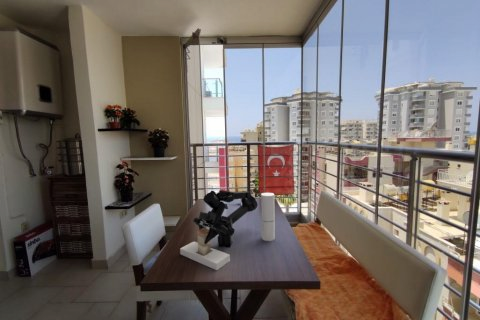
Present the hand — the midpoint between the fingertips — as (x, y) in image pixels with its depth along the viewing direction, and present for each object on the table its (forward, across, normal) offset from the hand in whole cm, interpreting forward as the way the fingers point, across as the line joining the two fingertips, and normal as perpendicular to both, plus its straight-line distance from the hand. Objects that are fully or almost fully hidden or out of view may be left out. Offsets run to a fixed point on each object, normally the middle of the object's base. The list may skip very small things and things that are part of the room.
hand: (201, 242), depth 108 cm
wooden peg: (+4, 0, +6) cm, 7 cm away
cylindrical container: (-19, +15, +31) cm, 40 cm away
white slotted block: (+5, 0, +7) cm, 8 cm away
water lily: (-50, -32, +62) cm, 86 cm away
